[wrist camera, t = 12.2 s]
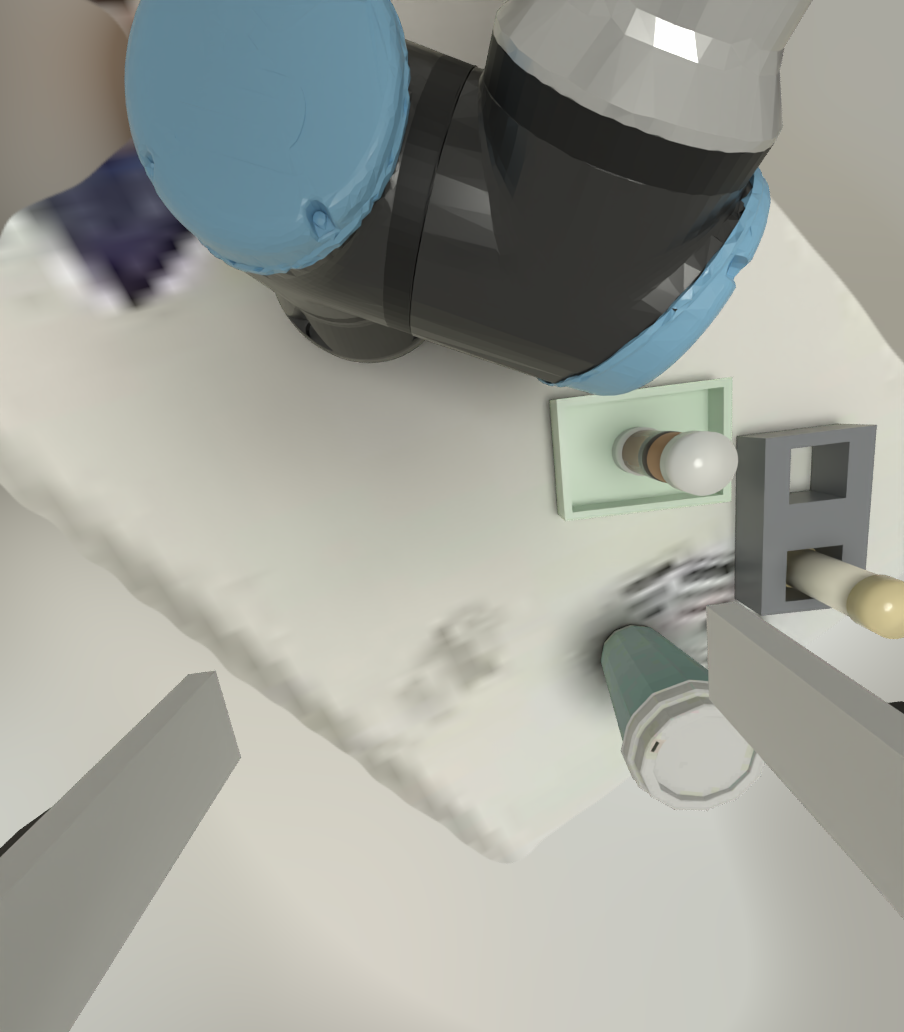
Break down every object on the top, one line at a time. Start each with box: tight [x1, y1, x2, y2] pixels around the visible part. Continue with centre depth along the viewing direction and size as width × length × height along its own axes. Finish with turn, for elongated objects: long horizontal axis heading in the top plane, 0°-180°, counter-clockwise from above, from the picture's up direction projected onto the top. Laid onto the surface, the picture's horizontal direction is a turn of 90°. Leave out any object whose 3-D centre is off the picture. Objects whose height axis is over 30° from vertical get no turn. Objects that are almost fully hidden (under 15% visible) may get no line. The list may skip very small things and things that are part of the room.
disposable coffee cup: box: [601, 625, 765, 810], centre depth 39 cm, size 11×11×15 cm
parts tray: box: [549, 377, 732, 521], centre depth 41 cm, size 11×15×3 cm
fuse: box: [786, 548, 904, 639], centre depth 38 cm, size 4×4×12 cm
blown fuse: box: [612, 427, 738, 496], centre depth 36 cm, size 4×4×12 cm
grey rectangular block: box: [735, 424, 877, 616], centre depth 41 cm, size 16×9×4 cm, turn 7°
